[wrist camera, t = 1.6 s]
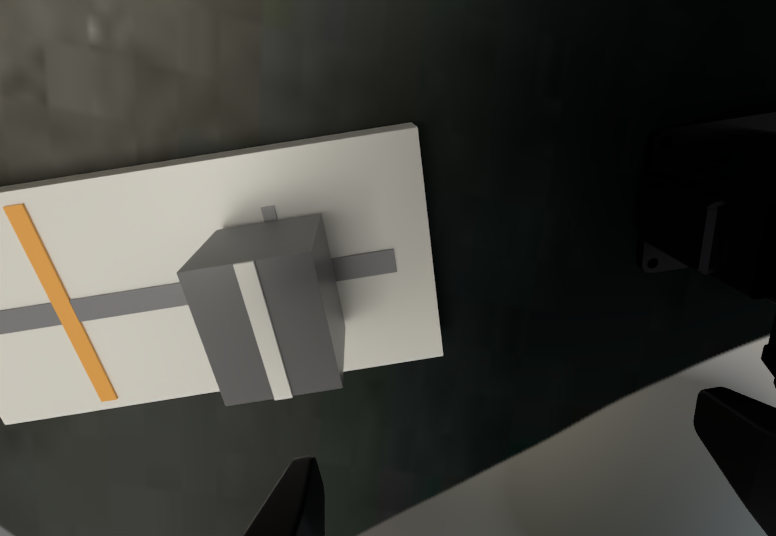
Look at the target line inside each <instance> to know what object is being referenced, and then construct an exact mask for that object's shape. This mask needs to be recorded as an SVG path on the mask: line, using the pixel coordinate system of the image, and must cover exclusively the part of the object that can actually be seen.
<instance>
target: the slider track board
mask: <svg viewBox="0 0 776 536" xmlns="http://www.w3.org/2000/svg"><path fill="white" fill-rule="evenodd" d="M321 213H322V218H323V223H324V227H325V232H326V237H327V241H328V246H329V251H330V256H331V260H332V265H333V270H334V275H335V279H336V284H337V289H338V294H339V298H340V303H341V308H342V312H343V317H344V322H345V327H346V328H345V349H344V369H343V372H344V371H350V370H357V369H363V368H369V367H376V366H382V365H388V364H395V363H401V362H407V361H414V360H420V359H426V358H433V357H439V356H443V349H442V340H441V331H440V322H439V314H438V305H437V296H436V287H435V278H434V269H433V260H432V251H431V242H430V233H429V224H428V215H427V206H426V197H425V188H424V180H423V171H422V162H421V153H420V144H419V135H418V127H417V126H416V125H414V124H413V123H412V122H410V123H403V124H397V125H390V126H384V127H378V128H371V129H365V130H359V131H352V132H346V133H340V134H333V135H327V136H320V137H314V138H308V139H301V140H295V141H289V142H282V143H276V144H270V145H263V146H257V147H250V148H244V149H238V150H231V151H225V152H219V153H212V154H206V155H200V156H193V157H187V158H180V159H174V160H168V161H161V162H155V163H149V164H142V165H136V166H129V167H123V168H117V169H110V170H104V171H98V172H91V173H85V174H79V175H72V176H66V177H59V178H53V179H47V180H40V181H34V182H28V183H21V184H15V185H9V186H2V187H0V417H1V419H2V420H3V422H4V424H5V425H8V424H15V423H21V422H27V421H34V420H40V419H46V418H53V417H59V416H65V415H72V414H78V413H84V412H91V411H97V410H103V409H110V408H116V407H122V406H129V405H135V404H141V403H148V402H154V401H160V400H167V399H173V398H179V397H186V396H192V395H198V394H205V393H211V392H217V391H220V390H219V387H218V384H217V382H216V379H215V376H214V374H213V371H212V368H211V365H210V363H209V360H208V357H207V355H206V352H205V349H204V346H203V344H202V341H201V338H200V336H199V333H198V330H197V327H196V325H195V322H194V319H193V317H192V314H191V311H190V308H189V306H188V303H187V300H186V298H185V295H184V292H183V289H182V287H181V284H180V281H179V279H178V276H177V272H178V270H179V269H180V268H181V267H182V266H183V265H184V264H185V263H186V262H187V261H188V260H189V259H190V258H191V257H192V256H193V254H194V253H195V252H196V251H197V250H198V249H199V248H200V247H201V246H202V245H203V244H204V243H205V242H206V241H207V239H208V238H209V237H210V236H211V235H212V234H213V233H214V232H215V231H216V230H219V229H226V228H232V227H238V226H245V225H251V224H258V223H264V222H270V221H277V220H283V219H289V218H296V217H302V216H308V215H315V214H321Z"/></svg>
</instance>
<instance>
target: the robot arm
mask: <svg viewBox="0 0 776 536" xmlns="http://www.w3.org/2000/svg"><path fill="white" fill-rule="evenodd" d="M663 136H665V138H666V140H665V143H664V144H663V145H662V146H660V143H659V142H660V140H661V138H662V137H663ZM638 237H639V247H638V258H637V264H638V266H639V268H640V269H642V270H643V271H645V272H647V273H656V272H662V271H668V270H675V269H681V268H687V267H690V268H692V269H693V270H695V271H697V272H699V273H700V274H709V275H710V276H712V277H714V278H716V279H718V280H719V281H721V282H723V283H725V284H727V285H728V286H730V287H732V288H734V289H736V290H737V291H739V292H741V293H743V294H745V295H746V296H748V297H750V298H752V299H762V298H766V299H768V300H770V301H772V302H774V303H776V110H772V111H766V112H760V113H753V114H747V115H741V116H734V117H728V118H722V119H715V120H709V121H702V122H696V123H690V124H683V125H677V126H671V127H664V128H660V129H657V130H655V131H654V132H653V133H652V134H651V135H650V137H649V140H648V146H647V157H646V169H645V180H644V182H643V184H642V189H641V201H640V212H639V224H638ZM650 259H653V261H652V262H651V263H650V264H649V265H647V264H648V261H649V260H650ZM761 359H762V361H763V362H764V364H765V365H766V366H767V368H768V369H769V370H770V372H771V373H772V375H773V376H774V377H775V379H774V385H775V388H776V313H775V317H774V322H773V326H772V330H771V334H770V338H769V343H768V344H767V345H765V346H764V348H763V352H762V357H761ZM694 427H695V430H696V432H697V434H698V436H699V438H700V439H701V441H702V442H703V444H704V445H705V447H706V448H707V450H708V451H709V453H710V454H711V456H712V457H713V459H714V460H715V462H716V463H717V465H718V466H719V468H720V469H721V471H722V472H723V474H724V475H725V477H726V479H727V480H728V481H729V483H730V484H731V486H732V488H733V489H734V490H735V492H736V494H737V495H738V497H739V498H740V499H741V501H742V502H743V504H744V505H745V507H746V508H747V509H748V511H749V512H750V513H751V515H752V516H753V517H754V519H755V520H756V521H757V522H758V524H759V525H760V526H761V528H762V529H763V530H764V531H765V533H766V534H767V535H768V536H776V408H775V407H772V406H770V405H767V404H765V403H762V402H760V401H757V400H755V399H752V398H749V397H747V396H745V395H742V394H740V393H737V392H735V391H732V390H730V389H727V388H724V387H716V388H709V389H704V390H701V391H700V392H699V394H698V397H697V403H696V409H695V415H694ZM242 536H325V495H324V486H323V482H322V478H321V475H320V471H319V468H318V464H317V461H316V458H315V457H314V456H312V455H309V456H303V457H297V458H294V459H293V460H292V461H291V463H290V464H289V466H288V467H287V469H286V470H285V472H284V473H283V475H282V476H281V478H280V479H279V481H278V482H277V484H276V485H275V487H274V488H273V490H272V491H271V493H270V494H269V496H268V497H267V499H266V500H265V502H264V504H263V505H262V507H261V508H260V510H259V511H258V513H257V514H256V516H255V517H254V519H253V520H252V522H251V523H250V525H249V526H248V528H247V529H246V531H245V532H244V534H243V535H242Z"/></svg>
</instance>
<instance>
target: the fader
mask: <svg viewBox="0 0 776 536" xmlns="http://www.w3.org/2000/svg"><path fill="white" fill-rule="evenodd" d="M177 276H178V279H179V281H180V284H181V287H182V289H183V292H184V295H185V298H186V300H187V303H188V306H189V308H190V311H191V314H192V317H193V319H194V322H195V325H196V327H197V330H198V333H199V336H200V338H201V341H202V344H203V346H204V349H205V352H206V355H207V357H208V360H209V363H210V365H211V368H212V371H213V374H214V376H215V379H216V382H217V384H218V387H219V390H220V393H221V395H222V398H223V401H224V403H225V406H231V405H237V404H244V403H250V402H256V401H263V400H269V399H275V400H281V399H287V398H293V396H294V395H301V394H307V393H313V392H320V391H326V390H332V389H339V388H343V369H344V349H345V328H346V327H345V322H344V317H343V312H342V308H341V303H340V298H339V294H338V289H337V284H336V279H335V275H334V270H333V265H332V260H331V256H330V251H329V246H328V241H327V237H326V232H325V227H324V223H323V218H322V213H321V214H315V215H308V216H302V217H296V218H289V219H283V220H277V221H270V222H264V223H258V224H251V225H245V226H238V227H232V228H226V229H219V230H216V231H215V232H214V233H213V234H212V235H211V236H210V237H209V238H208V239H207V241H206V242H205V243H204V244H203V245H202V246H201V247H200V248H199V249H198V250H197V251H196V252H195V253H194V254H193V256H192V257H191V258H190V259H189V260H188V261H187V262H186V263H185V264H184V265H183V266H182V267H181V268H180V269H179V270H178V272H177Z"/></svg>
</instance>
